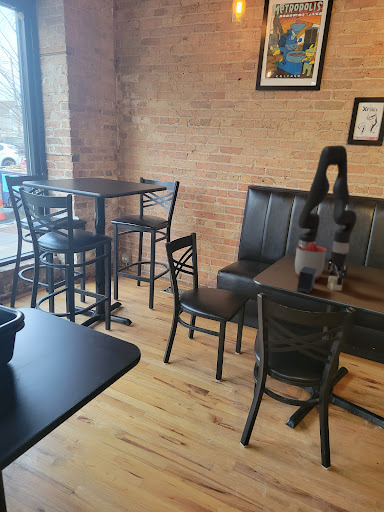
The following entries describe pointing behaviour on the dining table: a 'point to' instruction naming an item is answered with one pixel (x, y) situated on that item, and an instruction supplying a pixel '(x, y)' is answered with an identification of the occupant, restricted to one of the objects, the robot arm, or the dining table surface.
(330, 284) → the maple block
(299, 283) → the small box
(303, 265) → the citrus juicer
